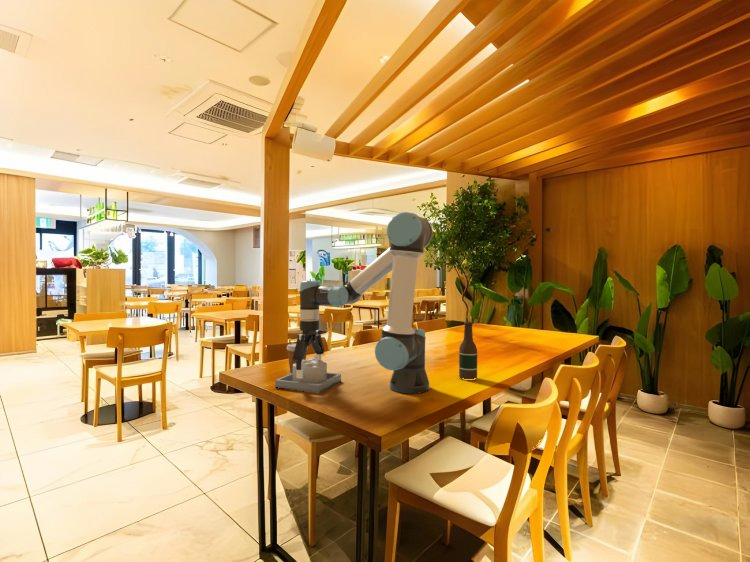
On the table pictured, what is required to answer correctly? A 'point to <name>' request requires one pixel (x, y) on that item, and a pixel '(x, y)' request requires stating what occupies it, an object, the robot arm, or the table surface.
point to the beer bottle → (468, 354)
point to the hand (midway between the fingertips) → (309, 374)
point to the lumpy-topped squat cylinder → (312, 372)
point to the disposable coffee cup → (290, 355)
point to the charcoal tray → (307, 387)
